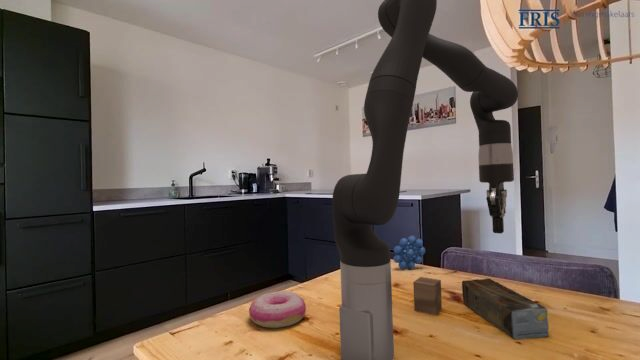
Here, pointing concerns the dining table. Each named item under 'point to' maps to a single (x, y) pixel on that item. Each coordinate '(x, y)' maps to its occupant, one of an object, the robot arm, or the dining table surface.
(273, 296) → the donut
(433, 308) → the walnut block
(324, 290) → the dining table surface
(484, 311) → the beverage carton
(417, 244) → the grapes
